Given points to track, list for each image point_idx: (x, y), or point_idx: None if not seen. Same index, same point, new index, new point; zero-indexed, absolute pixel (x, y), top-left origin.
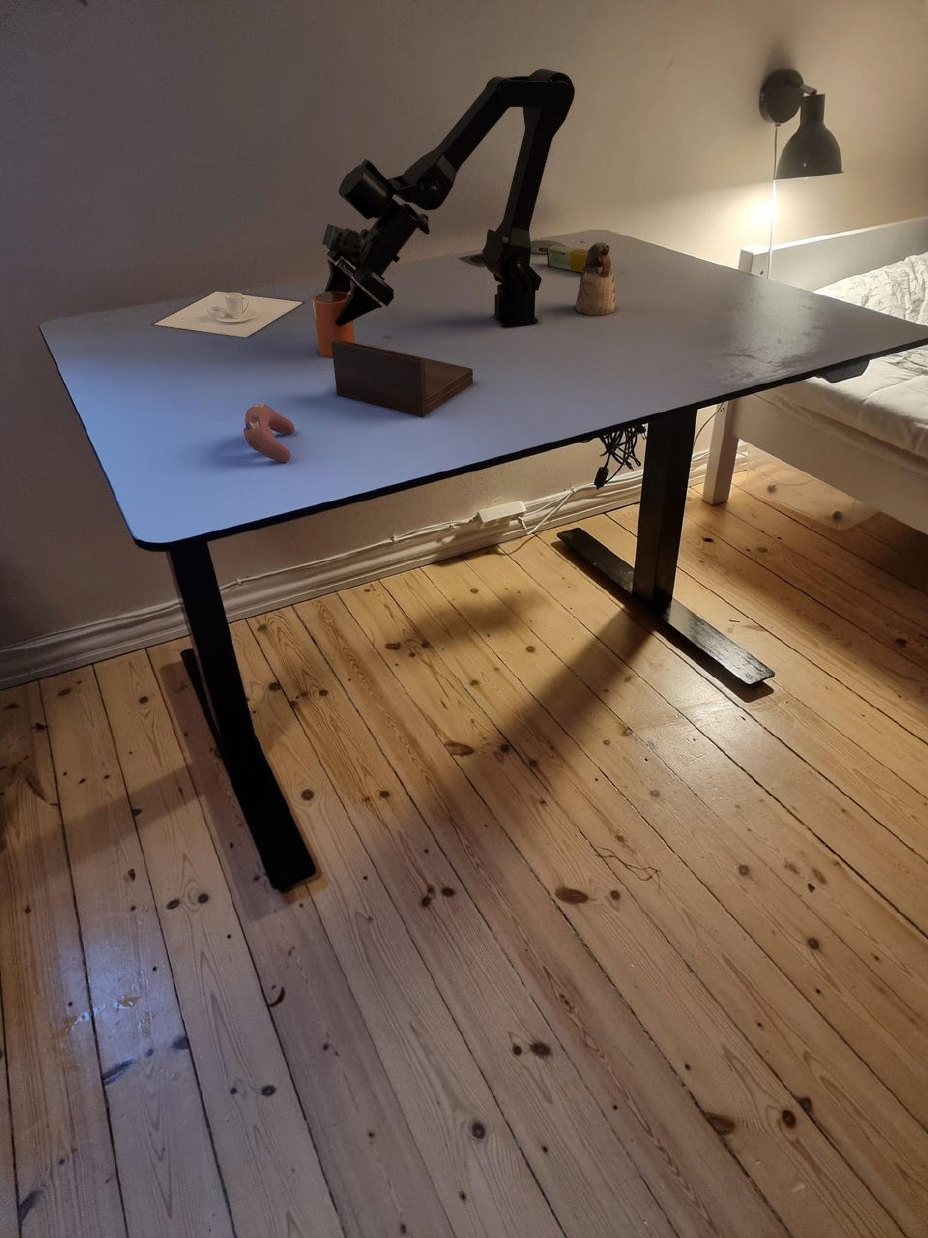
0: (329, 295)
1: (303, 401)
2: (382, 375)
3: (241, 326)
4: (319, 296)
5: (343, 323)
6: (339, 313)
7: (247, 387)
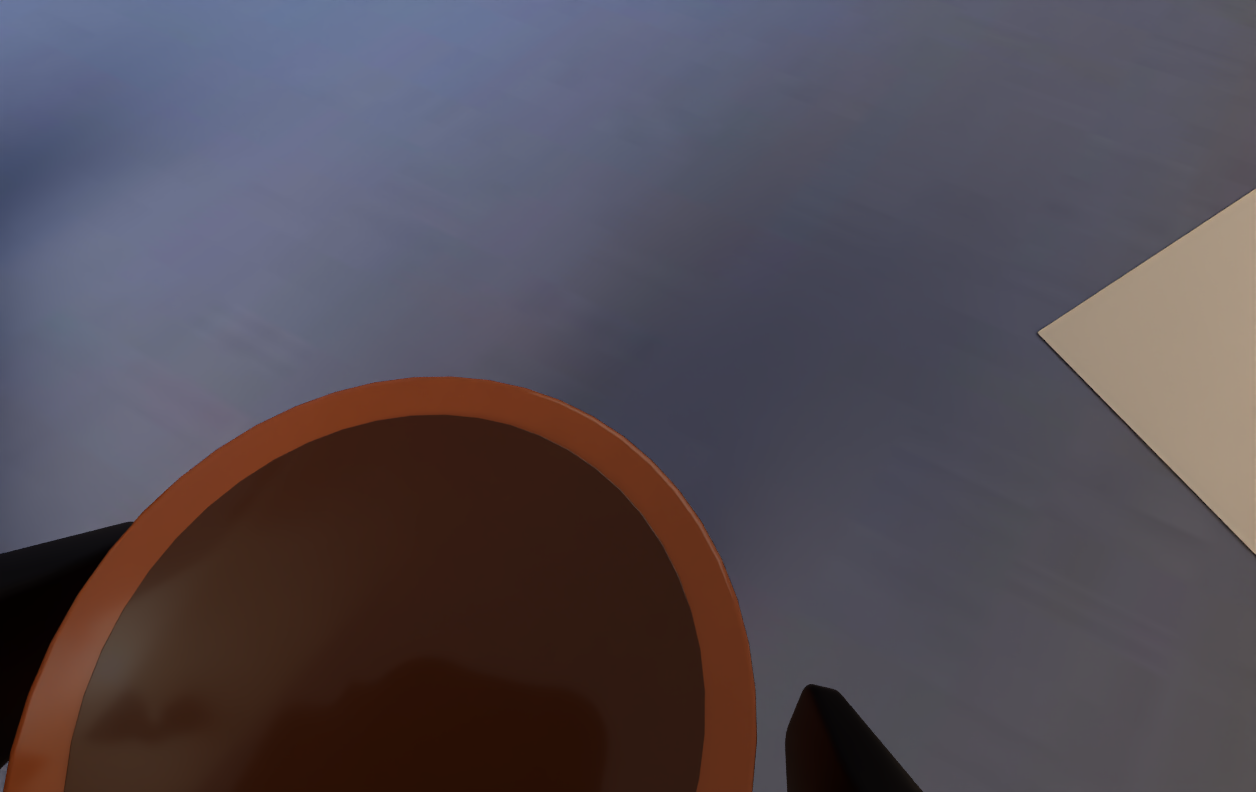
0: (509, 707)
1: (33, 154)
2: None
3: (1226, 389)
4: (584, 530)
5: None
6: (29, 574)
7: (406, 78)
